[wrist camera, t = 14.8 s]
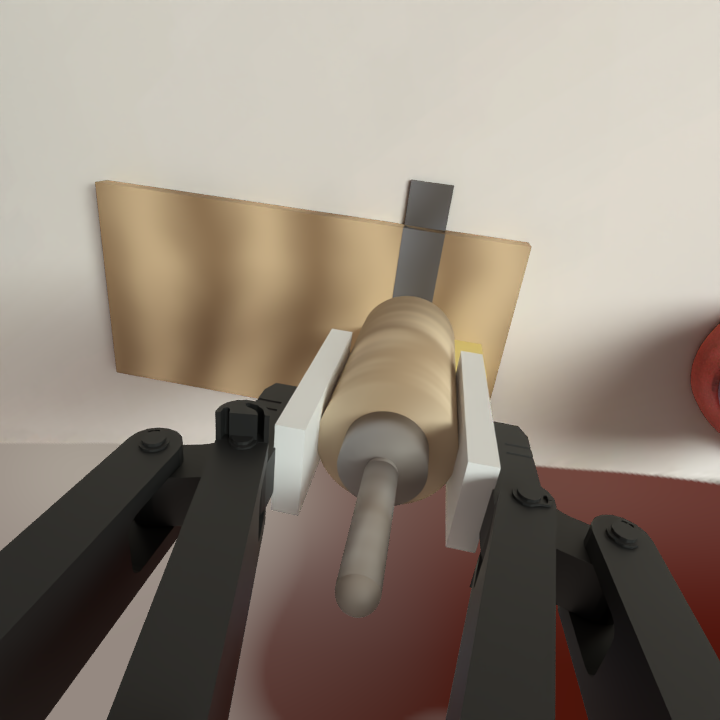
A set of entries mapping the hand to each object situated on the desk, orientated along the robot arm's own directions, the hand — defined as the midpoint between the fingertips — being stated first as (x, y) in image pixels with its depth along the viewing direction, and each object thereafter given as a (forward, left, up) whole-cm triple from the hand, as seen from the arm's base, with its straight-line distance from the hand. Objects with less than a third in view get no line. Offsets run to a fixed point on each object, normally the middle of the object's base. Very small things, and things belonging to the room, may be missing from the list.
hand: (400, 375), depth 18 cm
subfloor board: (-7, -3, -14) cm, 16 cm away
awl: (0, 0, -3) cm, 3 cm away
